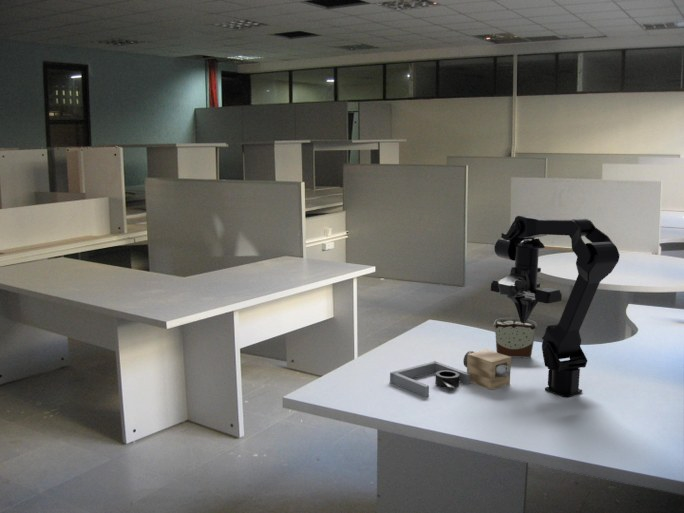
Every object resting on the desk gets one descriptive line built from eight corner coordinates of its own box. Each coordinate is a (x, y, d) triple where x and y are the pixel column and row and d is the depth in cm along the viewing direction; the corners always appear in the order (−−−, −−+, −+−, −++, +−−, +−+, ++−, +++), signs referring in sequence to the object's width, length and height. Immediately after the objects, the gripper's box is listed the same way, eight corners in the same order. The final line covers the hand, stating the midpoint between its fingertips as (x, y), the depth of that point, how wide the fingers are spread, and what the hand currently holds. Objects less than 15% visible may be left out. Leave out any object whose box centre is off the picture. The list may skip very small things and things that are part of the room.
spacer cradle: (470, 383, 174) (470, 373, 173) (425, 396, 164) (425, 386, 164) (434, 370, 184) (435, 361, 183) (389, 382, 174) (390, 372, 174)
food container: (532, 351, 201) (534, 317, 199) (536, 358, 195) (538, 323, 193) (489, 349, 202) (490, 316, 200) (491, 356, 196) (493, 321, 194)
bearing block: (509, 384, 174) (511, 357, 173) (490, 389, 170) (492, 362, 168) (485, 375, 180) (486, 349, 179) (466, 380, 176) (467, 354, 175)
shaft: (511, 378, 171) (512, 361, 171) (499, 382, 169) (500, 364, 168) (474, 366, 181) (475, 349, 180) (463, 369, 178) (463, 352, 177)
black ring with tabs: (424, 388, 171) (424, 377, 171) (440, 376, 180) (440, 366, 179) (454, 394, 167) (454, 382, 167) (468, 382, 176) (469, 371, 175)
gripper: (477, 261, 182) (475, 319, 184) (536, 272, 167) (532, 336, 170) (505, 257, 188) (503, 313, 191) (564, 268, 174) (560, 328, 176)
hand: (523, 322), depth 182 cm, fingers closed
